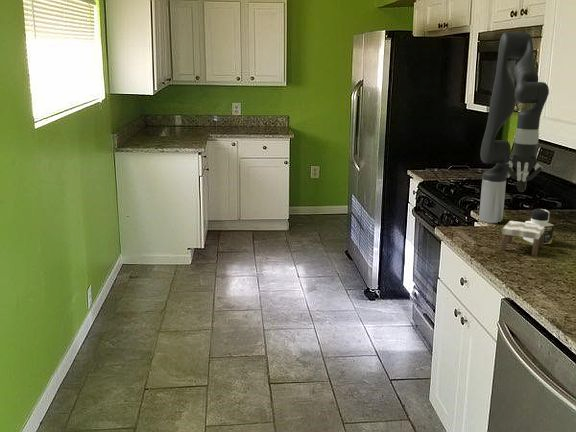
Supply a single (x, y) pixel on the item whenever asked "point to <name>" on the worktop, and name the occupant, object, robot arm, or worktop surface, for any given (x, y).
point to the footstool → (523, 234)
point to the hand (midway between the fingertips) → (520, 191)
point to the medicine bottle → (542, 219)
